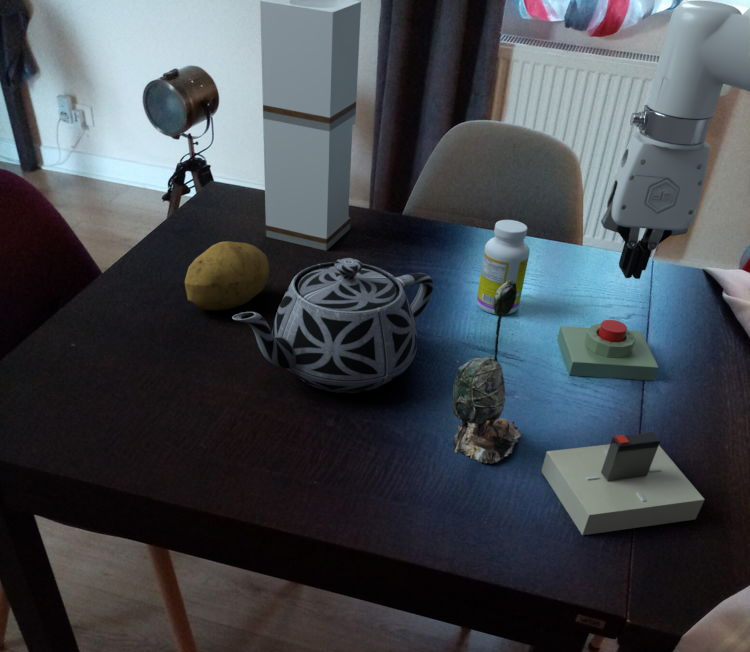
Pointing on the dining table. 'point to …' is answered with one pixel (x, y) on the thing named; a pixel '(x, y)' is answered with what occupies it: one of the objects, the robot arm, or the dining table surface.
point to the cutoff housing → (606, 354)
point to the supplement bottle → (503, 263)
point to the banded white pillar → (308, 117)
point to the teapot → (344, 326)
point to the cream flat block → (619, 491)
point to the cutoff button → (612, 331)
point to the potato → (226, 276)
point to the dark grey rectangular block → (630, 456)
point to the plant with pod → (485, 398)
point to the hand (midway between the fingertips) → (629, 273)
